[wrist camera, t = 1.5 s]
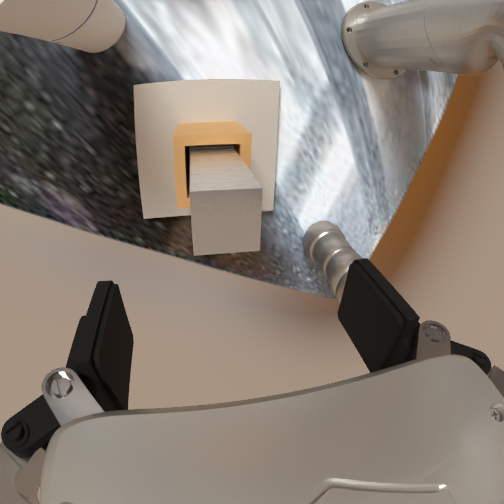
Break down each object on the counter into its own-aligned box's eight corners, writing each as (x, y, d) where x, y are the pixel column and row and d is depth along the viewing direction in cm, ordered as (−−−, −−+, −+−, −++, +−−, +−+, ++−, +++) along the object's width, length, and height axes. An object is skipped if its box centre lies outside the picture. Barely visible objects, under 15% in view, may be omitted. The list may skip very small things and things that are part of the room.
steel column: (224, 132, 35) (265, 185, 16) (224, 164, 37) (262, 252, 19) (189, 133, 34) (186, 189, 16) (190, 166, 36) (191, 257, 18)
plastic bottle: (297, 255, 48) (350, 346, 31) (299, 217, 45) (362, 302, 28) (334, 250, 49) (396, 333, 32) (337, 213, 46) (411, 290, 29)
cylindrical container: (125, 46, 28) (30, -6, 7) (74, 58, 26) (-57, 45, 5) (126, -1, 24) (53, -93, 3) (75, 11, 23) (-38, -42, 2)
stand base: (277, 81, 34) (316, 79, 23) (271, 207, 43) (300, 253, 32) (135, 85, 31) (107, 83, 20) (144, 215, 40) (129, 266, 29)
